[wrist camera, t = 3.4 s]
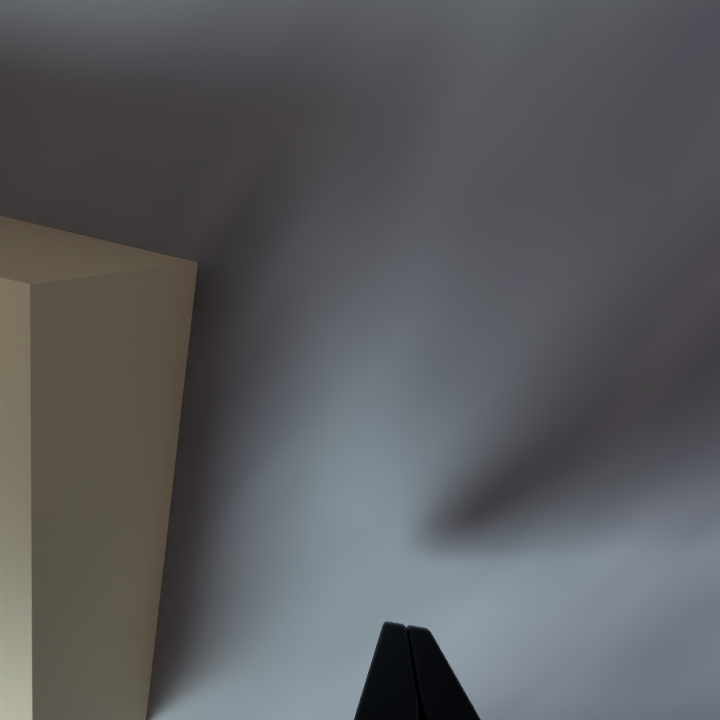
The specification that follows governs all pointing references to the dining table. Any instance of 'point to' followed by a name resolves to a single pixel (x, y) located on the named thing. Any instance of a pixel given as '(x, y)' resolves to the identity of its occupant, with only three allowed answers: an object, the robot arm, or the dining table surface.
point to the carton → (85, 466)
